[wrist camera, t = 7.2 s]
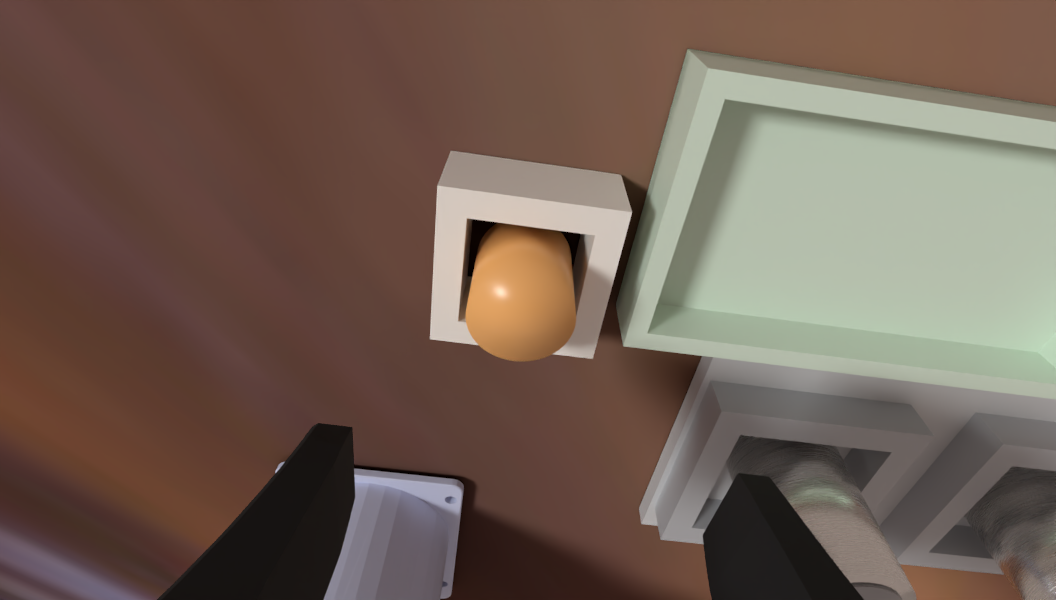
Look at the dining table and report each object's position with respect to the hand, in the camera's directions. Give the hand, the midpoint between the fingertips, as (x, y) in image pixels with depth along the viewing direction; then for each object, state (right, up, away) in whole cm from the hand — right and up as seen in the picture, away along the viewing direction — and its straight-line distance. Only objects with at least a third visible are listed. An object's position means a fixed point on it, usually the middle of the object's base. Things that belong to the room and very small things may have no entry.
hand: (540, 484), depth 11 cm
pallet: (+14, -3, +13) cm, 19 cm away
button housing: (0, +5, +7) cm, 9 cm away
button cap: (0, +5, +6) cm, 8 cm away
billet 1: (+10, -2, +11) cm, 15 cm away
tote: (+11, +6, +7) cm, 14 cm away
